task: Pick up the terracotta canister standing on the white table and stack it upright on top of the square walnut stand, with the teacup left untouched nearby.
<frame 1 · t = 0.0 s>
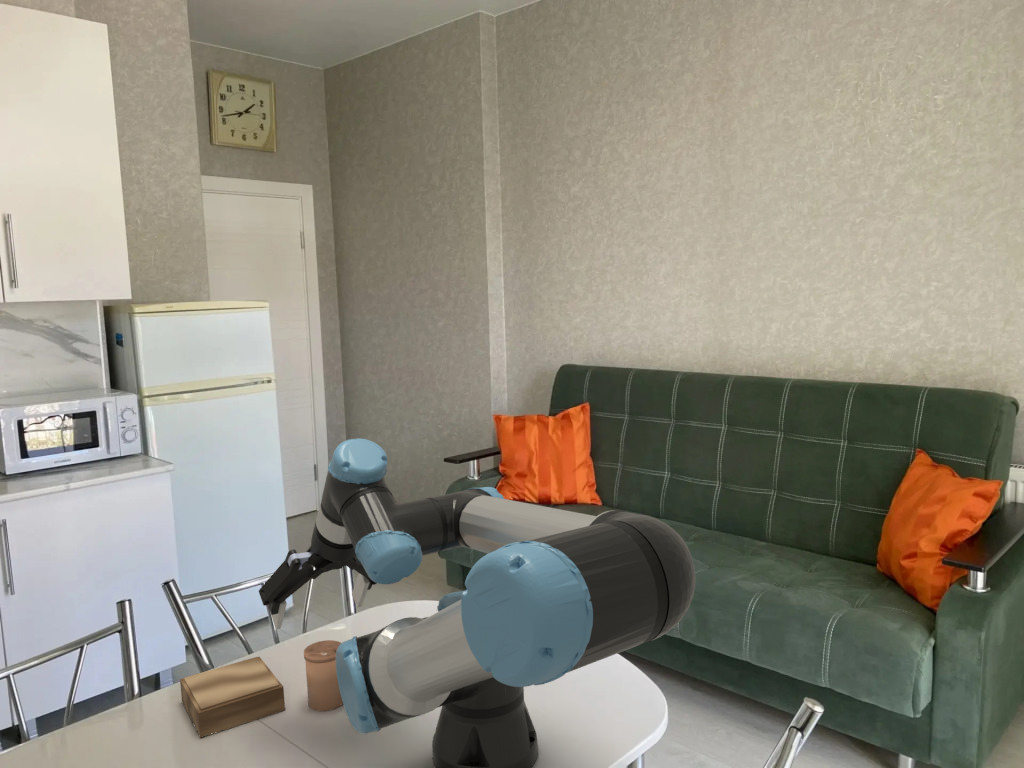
hand: (317, 610, 126), 15 cm above the table, tool tilted 35°, fingers open, 13 cm apart
stand: (232, 706, 126), on the table
canister: (327, 701, 127), on the table
teacup: (424, 682, 133), on the table
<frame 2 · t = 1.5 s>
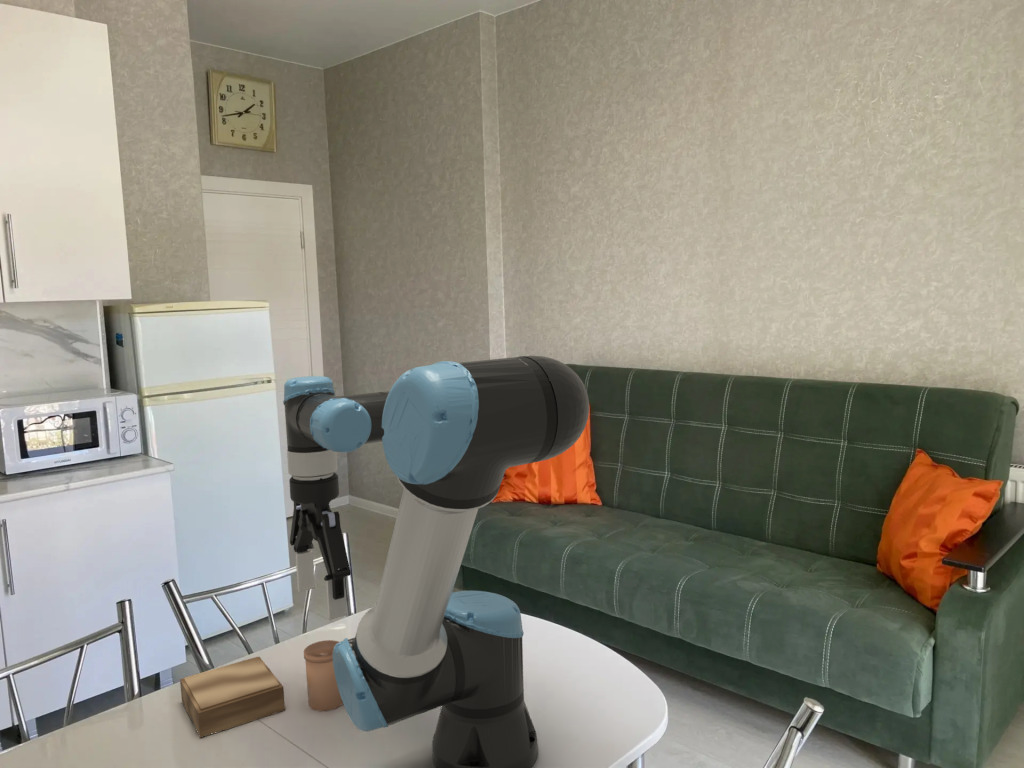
hand: (321, 602, 125), 17 cm above the table, tool pointing down, fingers open, 13 cm apart
nothing on the table moved.
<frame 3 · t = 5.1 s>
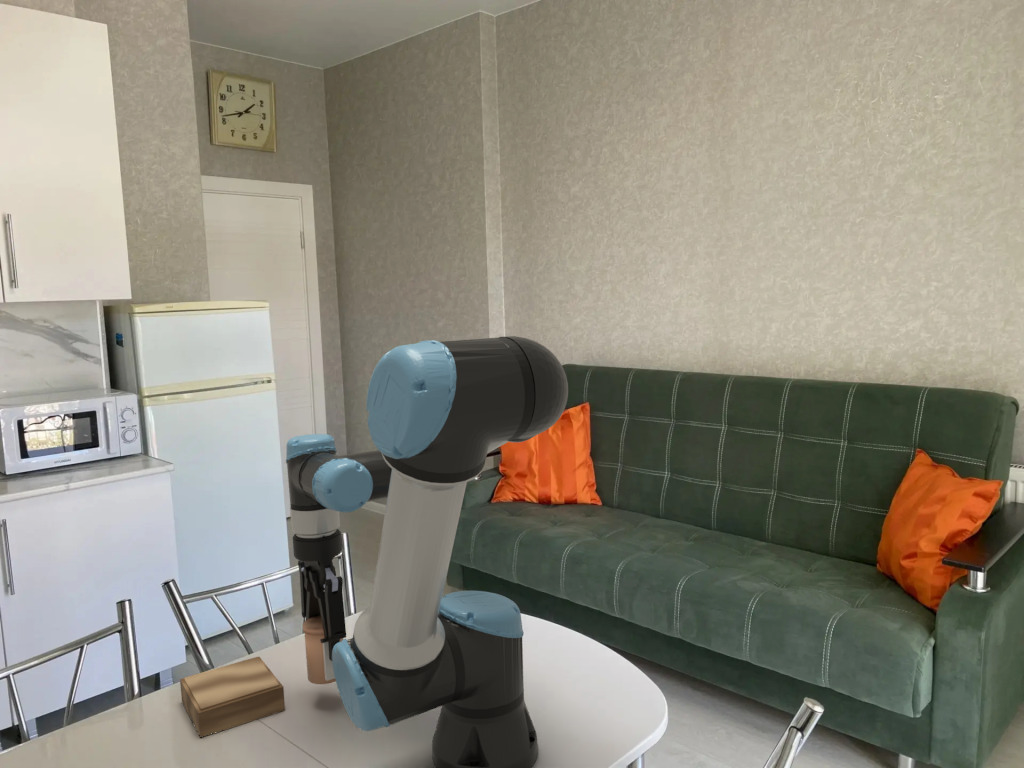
hand: (326, 669, 126), 6 cm above the table, tool pointing down, fingers closed on canister, 6 cm apart
canister: (326, 675, 126), point 5 cm above the table, touching gripper
everything else where it was.
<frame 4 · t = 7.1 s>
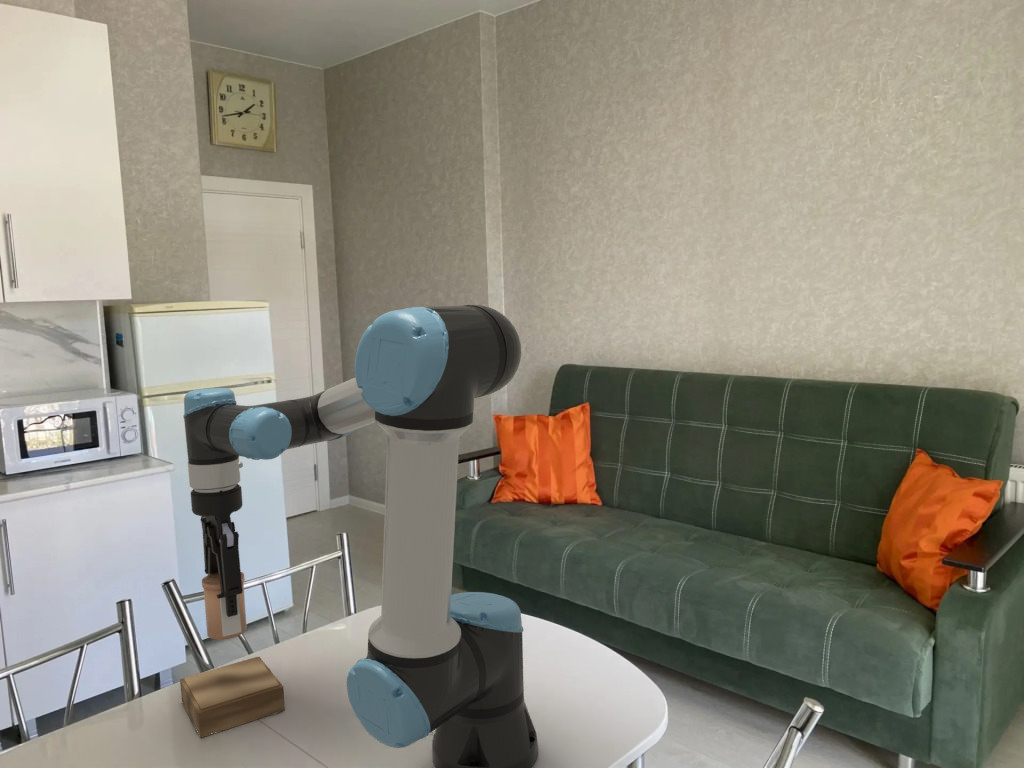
hand: (226, 626, 125), 14 cm above the table, tool pointing down, fingers closed on canister, 6 cm apart
canister: (227, 631, 125), point 13 cm above the table, touching gripper
everything else where it was.
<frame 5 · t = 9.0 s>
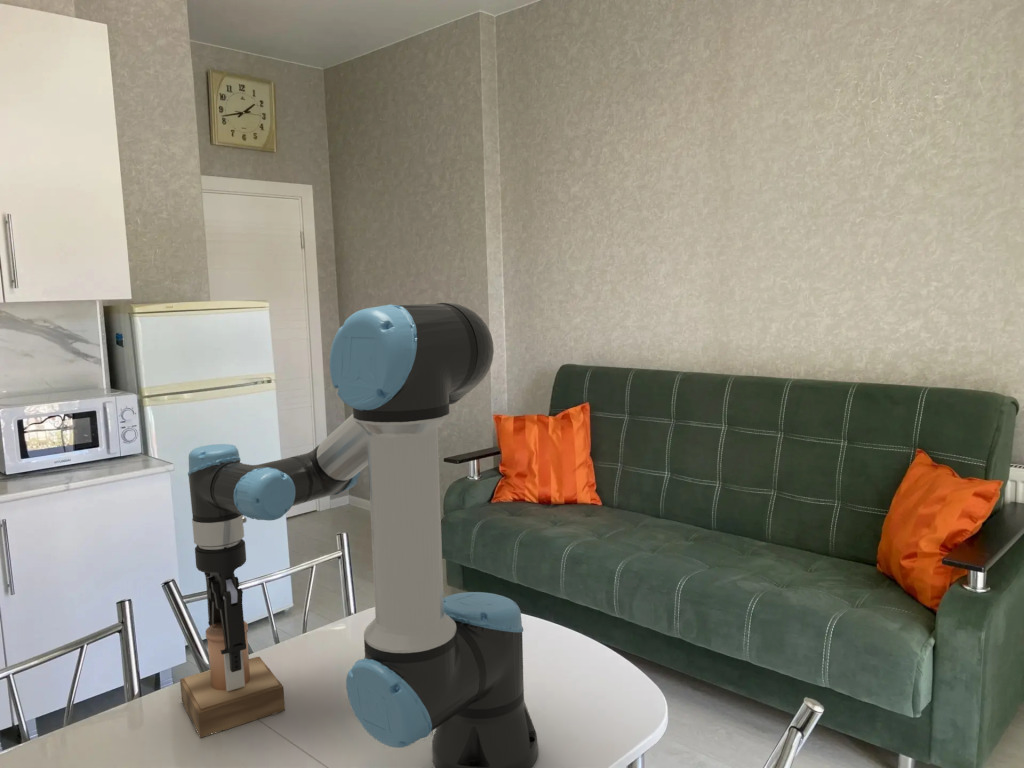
hand: (230, 679, 126), 5 cm above the table, tool pointing down, fingers closed on canister, 6 cm apart
canister: (230, 680, 126), point 4 cm above the table, touching gripper, stand
everything else where it was.
when the fingers open (5 cm above the table, at t = 9.4 s): canister stays where it is, resting on stand.
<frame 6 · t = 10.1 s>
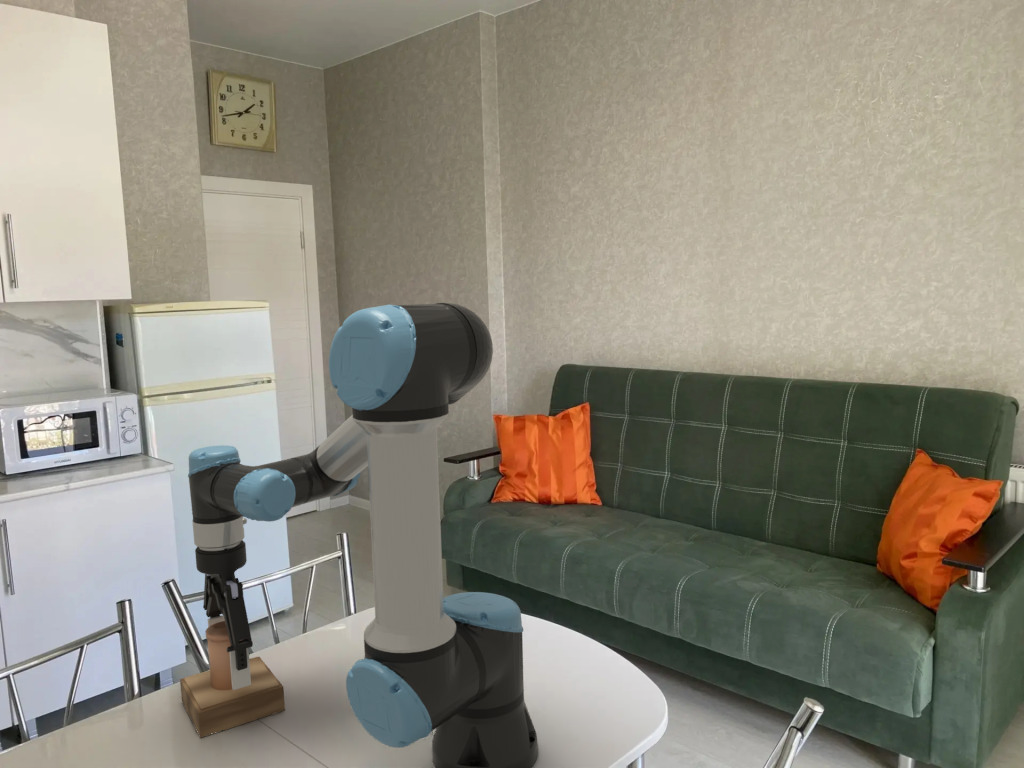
hand: (230, 670, 126), 6 cm above the table, tool pointing down, fingers open, 13 cm apart
canister: (230, 680, 126), point 4 cm above the table, touching stand
everything else where it was.
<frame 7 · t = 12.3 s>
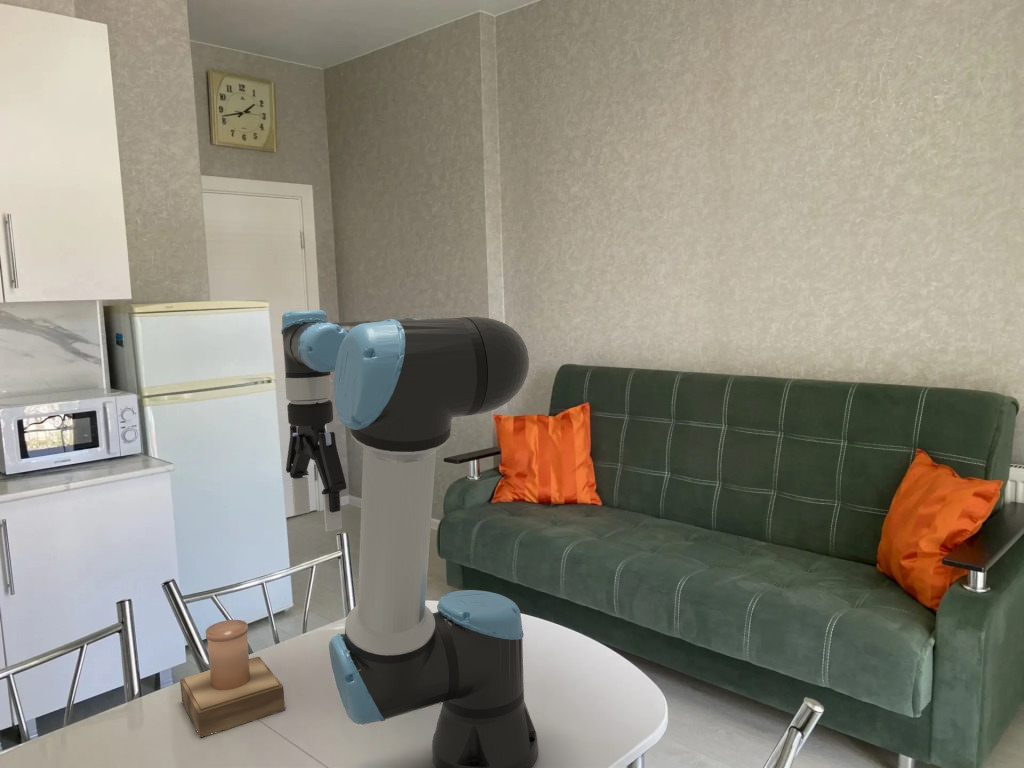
hand: (317, 521, 135), 27 cm above the table, tool pointing down, fingers open, 13 cm apart
nothing on the table moved.
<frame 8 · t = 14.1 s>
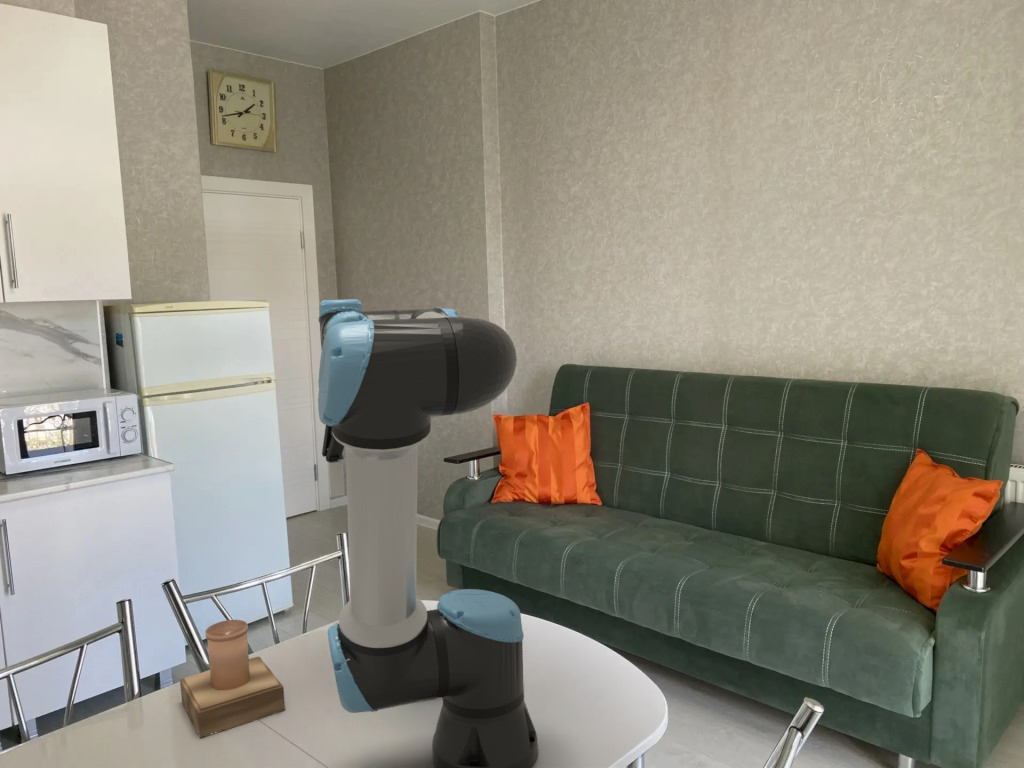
hand: (351, 503, 140), 29 cm above the table, tool pointing down, fingers open, 13 cm apart
nothing on the table moved.
at the end: canister inside the target area on the stand (0.1 cm from its centre), point 4.3 cm above the stand's base; canister tilted 0°; the gripper is holding nothing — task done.
